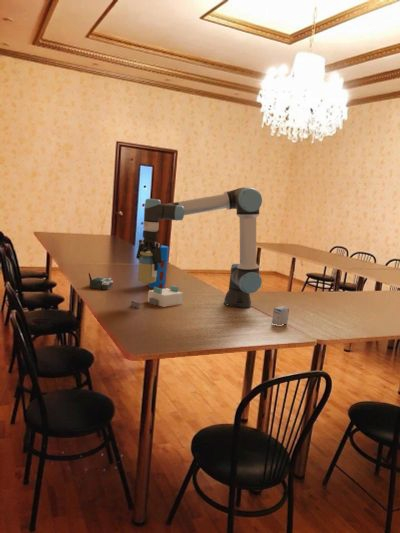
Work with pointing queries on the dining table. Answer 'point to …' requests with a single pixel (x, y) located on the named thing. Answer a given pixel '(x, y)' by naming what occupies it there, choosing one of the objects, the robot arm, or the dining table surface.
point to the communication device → (100, 282)
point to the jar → (146, 267)
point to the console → (163, 297)
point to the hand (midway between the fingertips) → (147, 274)
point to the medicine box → (280, 315)
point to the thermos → (161, 269)
